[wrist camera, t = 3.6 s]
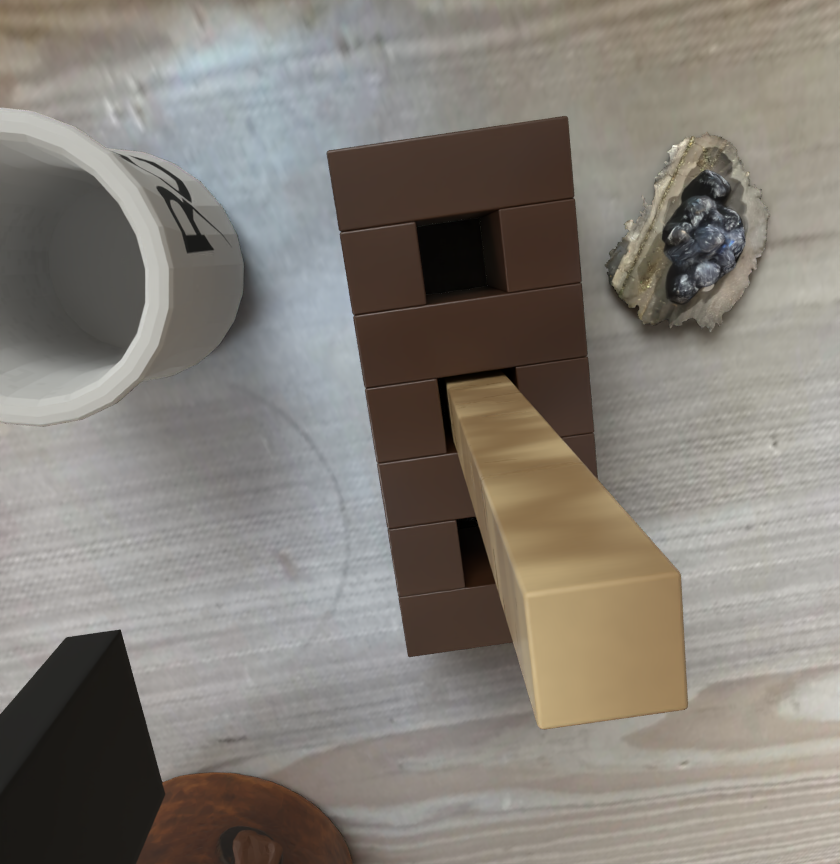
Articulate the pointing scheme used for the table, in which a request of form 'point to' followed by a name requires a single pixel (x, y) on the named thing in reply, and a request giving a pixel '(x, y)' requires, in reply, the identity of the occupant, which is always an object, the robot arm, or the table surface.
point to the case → (239, 824)
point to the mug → (102, 271)
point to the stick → (566, 565)
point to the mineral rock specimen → (692, 237)
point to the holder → (460, 341)
